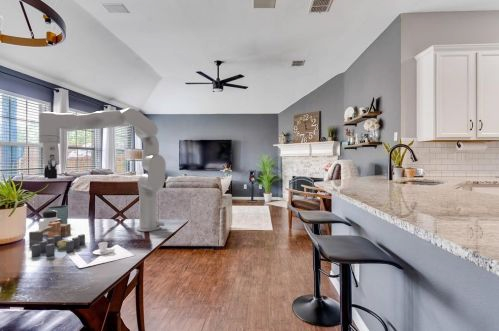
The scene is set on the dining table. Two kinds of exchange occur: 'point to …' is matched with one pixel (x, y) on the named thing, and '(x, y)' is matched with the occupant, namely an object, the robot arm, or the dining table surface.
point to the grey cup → (60, 212)
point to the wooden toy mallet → (49, 232)
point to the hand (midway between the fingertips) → (50, 178)
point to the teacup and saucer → (102, 255)
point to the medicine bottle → (48, 219)
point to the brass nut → (61, 245)
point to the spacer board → (50, 247)
